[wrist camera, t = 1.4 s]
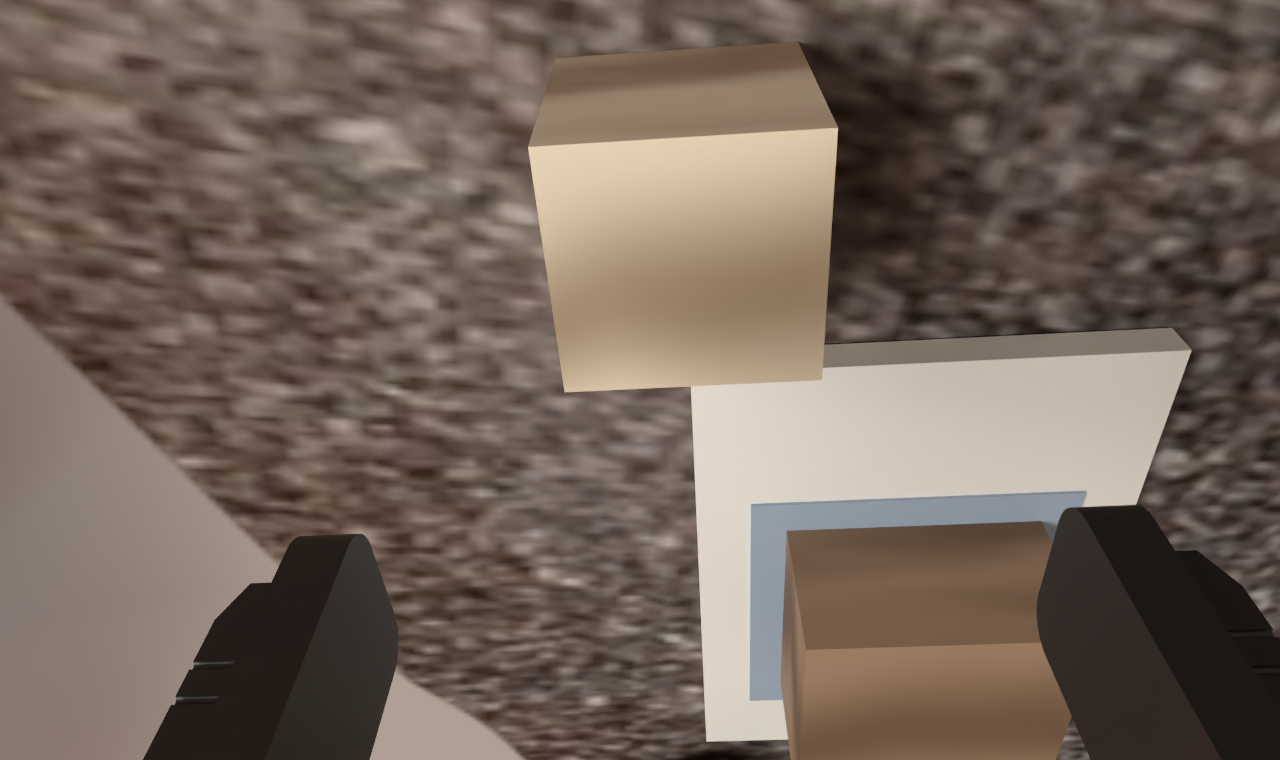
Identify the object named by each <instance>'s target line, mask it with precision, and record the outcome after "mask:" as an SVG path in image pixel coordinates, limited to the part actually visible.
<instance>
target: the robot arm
mask: <svg viewBox="0 0 1280 760" xmlns="http://www.w3.org/2000/svg"><path fill="white" fill-rule="evenodd" d="M1036 613H1037V626H1038V632H1039V637H1040V641H1041V644H1042V648H1043V651H1044V653H1045V656H1046V658H1047V660H1048V663H1049V665H1050V667H1051V669H1052V672H1053V674H1054V676H1055V679H1056V681H1057V683H1058V686H1059V688H1060V690H1061V692H1062V695H1063V697H1064V699H1065V702H1066V704H1067V706H1068V709H1069V711H1070V713H1071V715H1072V718H1073V720H1074V722H1075V725H1076V727H1077V729H1078V731H1079V734H1080V736H1081V738H1082V741H1083V743H1084V745H1085V748H1086V750H1087V752H1088V754H1089V757H1090V759H1091V760H1280V638H1279V637H1276V638H1275V637H1274V636H1273V633H1272V630H1273V629H1272V627H1271V626H1270V624H1269V623H1268V621H1267V620H1266V619H1265V617H1264V616H1263V614H1262V613H1261V612H1260V610H1259V609H1258V607H1257V606H1256V605H1255V603H1254V602H1253V600H1252V599H1251V598H1250V596H1249V595H1248V593H1247V592H1246V591H1245V589H1244V588H1243V586H1242V585H1240V584H1239V583H1238V582H1236V581H1235V580H1234V579H1233V578H1231V577H1230V576H1229V575H1228V574H1226V573H1225V572H1224V571H1222V570H1221V569H1220V568H1219V567H1217V566H1216V565H1215V564H1214V563H1212V562H1211V561H1210V560H1208V559H1207V558H1206V557H1205V556H1203V555H1202V554H1201V553H1199V552H1198V551H1197V550H1193V551H1175V550H1174V548H1173V547H1172V545H1171V544H1170V542H1169V541H1168V539H1167V538H1166V536H1165V535H1164V533H1163V532H1162V530H1161V529H1160V527H1159V526H1158V524H1157V523H1156V521H1155V520H1154V518H1153V517H1152V515H1151V514H1150V513H1149V512H1148V511H1147V510H1146V509H1145V508H1143V507H1142V506H1139V505H1120V506H1095V507H1071V508H1067V509H1065V510H1064V511H1063V513H1062V514H1061V516H1060V519H1059V522H1058V525H1057V529H1056V533H1055V536H1054V540H1053V544H1052V547H1051V551H1050V554H1049V558H1048V562H1047V565H1046V569H1045V572H1044V576H1043V580H1042V583H1041V587H1040V590H1039V594H1038V599H1037V612H1036ZM397 655H398V629H397V622H396V618H395V614H394V612H393V609H392V606H391V603H390V600H389V597H388V594H387V591H386V588H385V585H384V583H383V580H382V577H381V574H380V571H379V568H378V565H377V562H376V559H375V556H374V554H373V551H372V548H371V545H370V543H369V541H368V539H367V538H366V537H365V536H364V535H363V534H345V535H321V536H299V537H297V538H295V539H294V540H293V541H292V542H291V544H290V545H289V547H288V549H287V551H286V553H285V555H284V557H283V559H282V561H281V563H280V565H279V568H278V570H277V572H276V574H275V576H274V579H273V580H272V583H255V584H254V583H253V584H252V583H251V584H250V585H249V586H248V587H247V588H246V589H245V590H244V591H243V592H242V593H241V594H240V595H239V596H238V597H237V598H236V599H235V600H234V601H233V602H232V603H231V604H230V605H229V606H228V607H227V608H226V609H225V610H224V611H223V612H222V613H221V614H220V615H219V616H218V617H217V618H216V619H215V621H214V623H213V624H212V626H211V628H210V630H209V633H208V634H207V636H206V638H205V640H204V642H203V644H202V646H201V648H200V650H199V652H198V654H197V656H196V658H195V659H194V668H193V670H189V671H188V673H187V675H186V677H185V679H184V681H183V683H182V685H181V687H180V689H179V691H178V693H177V695H176V703H175V705H171V706H170V708H169V710H168V712H167V714H166V716H165V718H164V720H163V722H162V724H161V726H160V728H159V730H158V732H157V734H156V735H155V737H154V739H153V741H152V743H151V745H150V747H149V749H148V751H147V753H146V755H145V757H144V759H143V760H369V759H370V756H371V752H372V749H373V745H374V742H375V738H376V735H377V732H378V728H379V724H380V721H381V718H382V714H383V710H384V707H385V704H386V700H387V696H388V693H389V690H390V686H391V683H392V679H393V676H394V672H395V668H396V663H397Z"/></svg>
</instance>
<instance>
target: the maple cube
mask: <svg viewBox="0 0 1280 760" xmlns="http://www.w3.org/2000/svg"><path fill="white" fill-rule="evenodd" d="M837 138H838V126H837V124H836V122H835V120H834V118H833V116H832V114H831V111H830V109H829V107H828V105H827V103H826V101H825V99H824V96H823V94H822V92H821V90H820V88H819V86H818V84H817V81H816V79H815V77H814V75H813V73H812V71H811V69H810V66H809V64H808V62H807V60H806V58H805V56H804V54H803V51H802V49H801V47H800V45H799V43H798V42H786V43H771V44H756V45H741V46H727V47H712V48H697V49H682V50H667V51H652V52H637V53H622V54H608V55H593V56H578V57H563V58H556V59H555V62H554V65H553V68H552V71H551V75H550V78H549V81H548V84H547V88H546V91H545V94H544V97H543V100H542V104H541V107H540V110H539V113H538V117H537V120H536V123H535V126H534V129H533V133H532V136H531V139H530V142H529V146H528V150H529V157H530V163H531V170H532V177H533V183H534V190H535V197H536V203H537V210H538V217H539V224H540V230H541V237H542V244H543V250H544V257H545V264H546V270H547V277H548V284H549V290H550V297H551V304H552V310H553V317H554V324H555V331H556V337H557V344H558V351H559V357H560V364H561V371H562V377H563V384H564V391H565V392H581V391H602V390H623V389H645V388H666V387H687V386H708V385H729V384H750V383H771V382H793V381H814V380H822V371H823V356H824V340H825V325H826V309H827V293H828V278H829V262H830V247H831V231H832V215H833V200H834V184H835V169H836V153H837Z"/></svg>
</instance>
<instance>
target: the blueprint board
mask: <svg viewBox="0 0 1280 760" xmlns="http://www.w3.org/2000/svg"><path fill="white" fill-rule="evenodd" d="M1191 351H1192V350H1191V349H1190V348H1189V347H1188V345H1187V344H1186V343H1185V342H1184V341H1183V340H1182V339H1181V337H1180V336H1179V335H1178V334H1177V333H1176V332H1175V331H1174V329H1173V328H1156V329H1136V330H1115V331H1095V332H1074V333H1054V334H1034V335H1013V336H993V337H973V338H952V339H932V340H912V341H891V342H871V343H851V344H830V345H824V356H823V371H822V380H814V381H793V382H771V383H750V384H729V385H708V386H691V403H692V426H693V449H694V471H695V494H696V517H697V540H698V562H699V585H700V608H701V631H702V654H703V676H704V699H705V721H706V741H707V742H709V741H747V740H785V739H788V735H787V727H786V720H785V712H784V704H783V697H782V689H781V657H782V633H783V608H784V583H785V558H786V534H787V531H795V530H821V529H847V528H873V527H899V526H926V525H952V524H978V523H1004V522H1030V521H1041V522H1042V524H1043V526H1044V528H1045V530H1046V532H1047V534H1048V536H1049V538H1050V540H1051V542H1052V544H1053V540H1054V536H1055V533H1056V529H1057V525H1058V522H1059V519H1060V516H1061V514H1062V513H1063V511H1064V510H1065V509H1067V508H1071V507H1095V506H1120V505H1136V503H1137V501H1138V498H1139V495H1140V492H1141V490H1142V487H1143V484H1144V481H1145V479H1146V476H1147V473H1148V470H1149V467H1150V465H1151V462H1152V459H1153V456H1154V454H1155V451H1156V448H1157V445H1158V442H1159V440H1160V437H1161V434H1162V431H1163V429H1164V426H1165V423H1166V420H1167V418H1168V415H1169V412H1170V409H1171V406H1172V404H1173V401H1174V398H1175V395H1176V393H1177V390H1178V387H1179V384H1180V381H1181V379H1182V376H1183V373H1184V370H1185V368H1186V365H1187V362H1188V359H1189V357H1190V354H1191Z"/></svg>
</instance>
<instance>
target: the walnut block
mask: <svg viewBox="0 0 1280 760" xmlns="http://www.w3.org/2000/svg"><path fill="white" fill-rule="evenodd" d="M1051 547H1052V542H1051V540H1050V538H1049V536H1048V534H1047V532H1046V530H1045V528H1044V526H1043V524H1042V522H1041V521H1030V522H1004V523H978V524H952V525H926V526H899V527H873V528H847V529H821V530H795V531H787V534H786V558H785V583H784V608H783V633H782V657H781V689H782V697H783V704H784V712H785V720H786V727H787V735H788V742H789V750H790V757H791V760H1056V757H1057V754H1058V752H1059V749H1060V746H1061V744H1062V741H1063V738H1064V736H1065V733H1066V730H1067V728H1068V725H1069V722H1070V720H1071V717H1072V715H1071V713H1070V711H1069V709H1068V706H1067V704H1066V702H1065V699H1064V697H1063V695H1062V692H1061V690H1060V688H1059V686H1058V683H1057V681H1056V679H1055V676H1054V674H1053V672H1052V669H1051V667H1050V665H1049V663H1048V660H1047V658H1046V656H1045V653H1044V651H1043V648H1042V644H1041V641H1040V637H1039V632H1038V626H1037V613H1036V612H1037V599H1038V594H1039V590H1040V587H1041V583H1042V580H1043V576H1044V572H1045V569H1046V565H1047V562H1048V558H1049V554H1050V551H1051Z"/></svg>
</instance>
